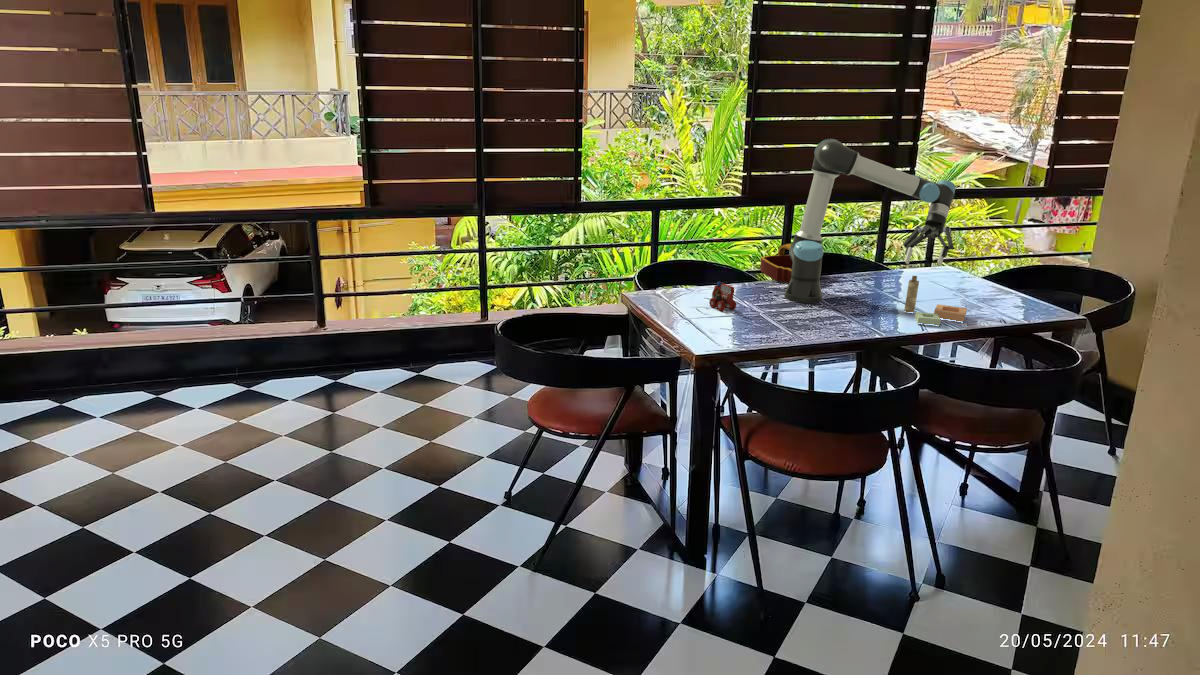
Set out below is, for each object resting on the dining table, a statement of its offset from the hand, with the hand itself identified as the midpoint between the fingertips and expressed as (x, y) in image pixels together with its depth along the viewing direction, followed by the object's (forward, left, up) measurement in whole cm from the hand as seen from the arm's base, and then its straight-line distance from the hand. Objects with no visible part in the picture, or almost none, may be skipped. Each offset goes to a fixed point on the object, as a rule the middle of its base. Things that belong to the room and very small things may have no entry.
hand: (922, 263), depth 338 cm
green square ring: (+7, -20, -19) cm, 29 cm away
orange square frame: (+14, -7, -19) cm, 24 cm away
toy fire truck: (-67, -45, -19) cm, 84 cm away
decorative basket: (-59, +28, -19) cm, 68 cm away
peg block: (-1, -8, -19) cm, 21 cm away
